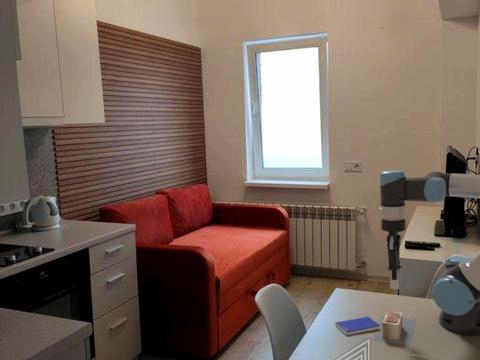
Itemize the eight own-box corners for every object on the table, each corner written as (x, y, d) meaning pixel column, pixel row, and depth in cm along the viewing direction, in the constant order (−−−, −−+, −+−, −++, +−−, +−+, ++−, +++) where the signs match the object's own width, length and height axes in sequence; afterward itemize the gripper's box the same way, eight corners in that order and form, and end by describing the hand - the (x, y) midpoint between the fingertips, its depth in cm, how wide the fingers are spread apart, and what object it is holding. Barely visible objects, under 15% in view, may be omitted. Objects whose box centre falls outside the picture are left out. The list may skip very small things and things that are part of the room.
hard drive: (346, 331, 154) (380, 324, 157) (335, 321, 162) (367, 315, 165) (346, 335, 154) (380, 329, 157) (335, 326, 162) (367, 320, 165)
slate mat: (415, 320, 163) (415, 319, 163) (409, 346, 145) (409, 345, 145) (382, 316, 168) (382, 315, 168) (373, 341, 150) (373, 339, 150)
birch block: (402, 312, 157) (398, 324, 148) (402, 327, 158) (398, 340, 149) (386, 310, 160) (382, 322, 151) (387, 325, 160) (382, 337, 151)
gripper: (384, 214, 161) (386, 280, 163) (378, 222, 149) (380, 293, 152) (407, 214, 157) (409, 282, 160) (403, 222, 146) (404, 296, 148)
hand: (395, 288), depth 156 cm, fingers closed
